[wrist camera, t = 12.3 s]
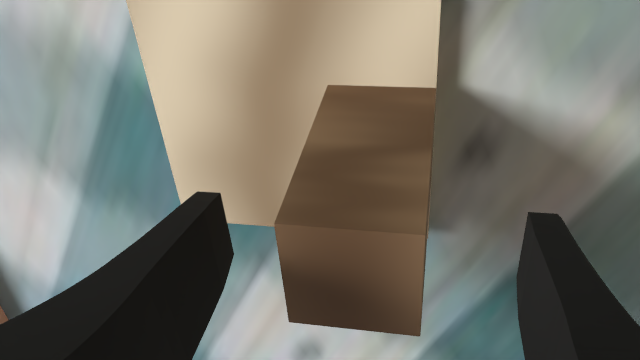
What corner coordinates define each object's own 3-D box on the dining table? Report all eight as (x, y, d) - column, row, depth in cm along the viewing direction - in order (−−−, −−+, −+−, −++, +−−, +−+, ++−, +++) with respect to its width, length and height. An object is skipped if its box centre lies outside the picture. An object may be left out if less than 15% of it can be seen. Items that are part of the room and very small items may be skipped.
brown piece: (442, -17, 15) (431, 122, 10) (429, 218, 20) (416, 401, 14) (141, -15, 17) (-15, 105, 11) (195, 202, 22) (104, 360, 16)
